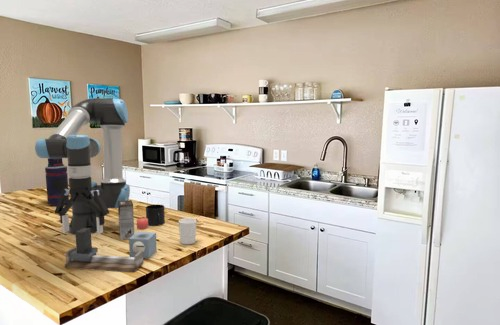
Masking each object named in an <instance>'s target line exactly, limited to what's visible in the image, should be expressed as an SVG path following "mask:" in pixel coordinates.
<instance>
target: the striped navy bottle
mask: <svg viewBox="0 0 500 325" xmlns="http://www.w3.org/2000/svg"><path fill="white" fill-rule="evenodd" d="M44 170H45V171H44V172H45V184H46V200H47V204H48V206H54V207H57V205H58V202H59V200H60V198H61V193H62V190H64V189H69V178H68V177H69V175H68V165H67V166H66V165H65V164H64V162H63V158H50V159H49V158H47V166H46V167H45V168H44ZM69 199H70V194H69V195H68V197H67V200H66V202H65V205H66V204H67V203H68V201H69Z"/></svg>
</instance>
